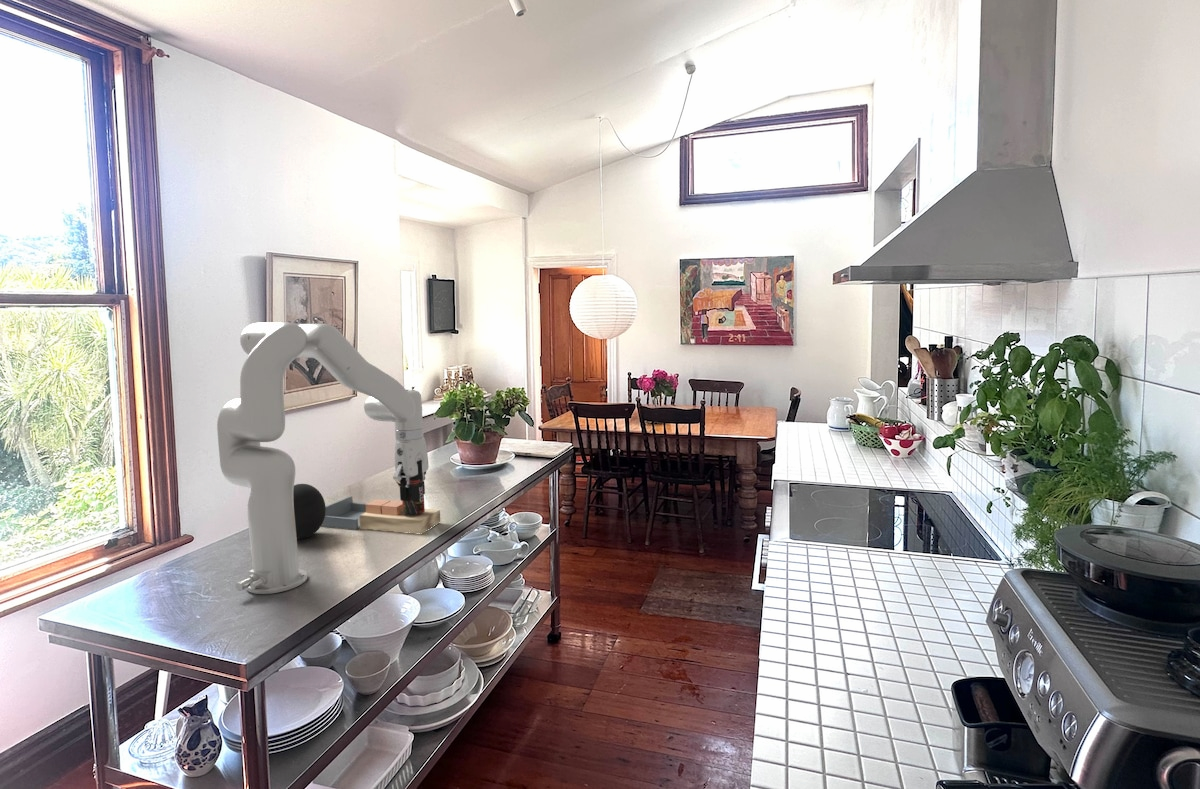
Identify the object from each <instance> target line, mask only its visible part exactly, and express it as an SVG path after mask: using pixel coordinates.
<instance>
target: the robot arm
mask: <svg viewBox="0 0 1200 789" xmlns="http://www.w3.org/2000/svg"><path fill="white" fill-rule="evenodd" d="M239 339H240V341H239V342H240V346H241V348H242V350H243V351H244V353H245V354H247V355H248V356H247V358H246V359H245V360H244V363H243V365H242V367H241V371H240V379H239V382H240V383H239V388H240V390H239V392H240V393H239V394H240V397H238V398H233V399H231V400H229V401H228V402H226V403H225V404H224V405H223V407H222V408H221V409H220V411H219V413H218V417H217V424H216V425H217V426H216V428H217V429H216V431H217V442H218V443H217V444H218V452H219V453H218V455H219V465H220V466H219V467H220V470H221V473H222V475H223V477H224V478H225V480H226V481H228V482H229V483H230V484H233V485H235V486H240V487H242V488H243V487H245V488H248V489H250V495H249V498H248V500H247V501H248V502H247V504H246V505H247V508H246V517H247V525H248V534H249V535H248V536H249V545H250V555H251V568H252V569H251V570H248V576H247V577H246V579H242V580H241V581H238V582H236V583H235V588H236V591H238V592H242V591H244V590H245V589H246V590H247V592H249V593H251V594H255V595H269V594H278V593H282V592H286V591H289V590H292V589H295V588H296V587H299V586H301V585H302V584H303V583H305V582H306V581H307V579H308V572H307V570H305V569H303V568H300V563H299V562H300V561H299V551H298V550H299V549H298V540H297V539H298V538H297V537H296V525H295V514H294V500H293V491H294V485H295V479H296V465H295V461H294V460H293V457H291V456H290V454H289V453H287V452H286V451H284V450H282V449H279V448H274V447H268V446H261V443H271V442H274V441H277V440H278V439H280V438H281V437H282V436H283V434H284V432H285V430H286V414H285V413H286V412H285V400H284V398H285V397H284V378H285V374H286V372H287V370H288V367H289V366H290V365H291V363H293V361H294V360H295V359H303V358H305V359H306V358H307V359H315V360H317V361H318V362H319V363H320V364H321V365H322V366H323V368H324V369H326V370H327V372H328V373H329V374H331V375H332V377H333V378H334V379H336V381H337V382H338V383H339V384H340V385H342V386H344V387H345V388H348V389H350V390H353V391H355V392H358V393H361V394H364V395H366V396H368V397H367V398H366V400H365V402H364V404H363V408H364V410H363V411H364V412H365V414H366V416H367V417H368V418H370V419H372V420H373V421H376V422H377V421H378V422H391V423H394V431H395V448H394V474H393V476H392V479H393V480H394V481H395V482H396V484H397V486H398V488H399V497H400V498H399V501H411V487H409V483H410V477H414V476H416V475H418V466H417V465H418V464H417V461H420V460H422V473H423V489H424V495H425V494H426V491H425V490H426V489H425V488H426V487H425V480H426V475H427V471H428V470H429V468H430V467H429V456H428V447H427V442H426V438H425V437H424V423H423V422H424V420H423V407H422V405H423V404H422V403H423V402H422V394H421V393H420V391H417V390H411V389H410V390H409V389H408V390H407V389H406V388H405V387H404V386H403V384H401V383H400V382H399V381H398V380H397V379H395V378H394V377H392V376H391V375H389V374H388V373H386V372H385V371H383V370H381V369H380V368H378V367H377V366H375V365H373V364H371V363H370V362H368V361H367V360H366V359H365V358H364V356H362V354H360V352H359V351H358V350H357V349H356V348H355V347H354V346H353V345H352V343H351V342H350V341H349V340H348V339H347V338H346V337H345V336H344V335H343V333H341V332H340V330H339V329H338V328H336V326H333V325H331V324H329V323H294V322H287V321H275V322H267V321H266V322H264V321H263V322H254V323H251V324H249V325H247V326H246V327H245V328H244V329H243V330H242V332H241V334H240V338H239ZM403 473H405V475H406V476H403ZM403 478H406V482H405V481H404V480H403Z"/></svg>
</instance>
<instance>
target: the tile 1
mask: <svg viewBox="0 0 1200 789" xmlns="http://www.w3.org/2000/svg"><path fill="white" fill-rule="evenodd" d="M391 501H392V500H388V499H387V500H386V499H378V498H376V499H374V500H372V501H370V502H367V503H366V504H365V505H366V513H375V514H382V505H384V504H386V503H388V502H391Z"/></svg>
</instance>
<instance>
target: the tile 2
mask: <svg viewBox="0 0 1200 789" xmlns="http://www.w3.org/2000/svg"><path fill="white" fill-rule="evenodd" d="M390 501H391V502H388V503H386V504H384V505H382V514H386V515H399V514H401V513H403V504H402V501H401V500H399V501H398V500H390Z"/></svg>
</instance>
